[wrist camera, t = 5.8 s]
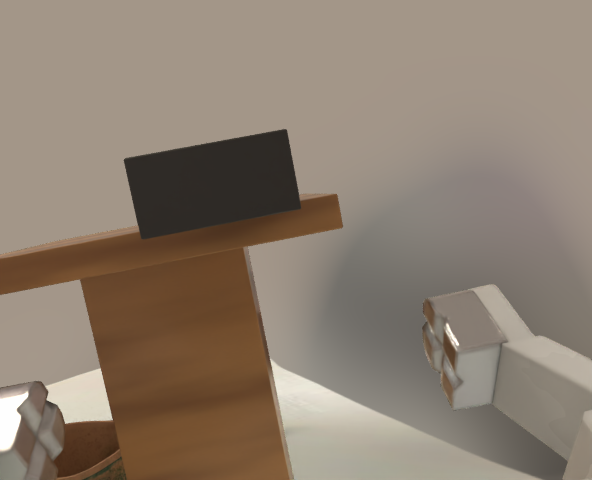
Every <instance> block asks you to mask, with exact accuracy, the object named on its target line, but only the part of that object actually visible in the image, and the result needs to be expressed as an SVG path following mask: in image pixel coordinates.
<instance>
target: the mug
mask: <svg viewBox="0 0 592 480" xmlns="http://www.w3.org/2000/svg"><path fill="white" fill-rule="evenodd" d="M53 462H54V464H55V465H56V467H57V468H58V474H57V479H56V480H127V478H126V474H125V469H124V465H123V461H122V456H121V452H120V448H119V444H118V439H117V435H116V431H115V427H114V422H113V420H110V421H84V422H75V423H68V424H65V441H64V447H63V450H62V451H61V453H60V454H59V455H58V456H57V457H56V459H55V460H54V461H53Z"/></svg>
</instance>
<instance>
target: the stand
mask: <svg viewBox="0 0 592 480" xmlns="http://www.w3.org/2000/svg"><path fill="white" fill-rule="evenodd" d="M299 197H300V203H301V209H300V210H295V211H289V212H284V213H279V214H274V215H269V216H263V217H258V218H253V219H248V220H243V221H237V222H232V223H227V224H222V225H217V226H211V227H206V228H201V229H196V230H191V231H185V232H180V233H175V234H170V235H165V236H159V237H154V238H149V239H144V240H143V239H141V236H140V232H139V227H138V226H132V227H127V228H123V229H117V230H111V231H107V232H101V233H96V234H91V235H86V236H80V237H75V238H70V239H64V240H59V241H55V242H51V243H46V244H42V245H39V246H34V247H30V248H26V249H21V250H17V251H13V252H9V253H5V254H1V255H0V295H2V294H8V293H13V292H18V291H23V290H28V289H33V288H38V287H43V286H48V285H54V284H59V283H64V282H69V281H74V280H79V279H80V281H81V285H82V290H83V293H84V298H85V302H86V307H87V311H88V315H89V320H90V324H91V328H92V332H93V337H94V341H95V345H96V350H97V354H98V358H99V362H100V367H101V371H102V375H103V379H104V384H105V388H106V392H107V397H108V401H109V405H110V409H111V414H112V418H113V422H114V427H115V431H116V435H117V439H118V444H119V448H120V452H121V456H122V461H123V465H124V469H125V474H126V478H127V480H294V477H293V472H292V467H291V462H290V457H289V452H288V447H287V442H286V437H285V432H284V427H283V422H282V417H281V412H280V407H279V402H278V397H277V392H276V387H275V382H274V377H273V371H272V366H271V361H270V356H269V352H268V346H267V341H266V336H265V331H264V326H263V322H262V316H261V312H260V307H259V301H258V297H257V291H256V286H255V281H254V276H253V271H252V266H251V261H250V256H249V251H248V246H253V245H258V244H263V243H268V242H274V241H279V240H284V239H289V238H294V237H299V236H304V235H309V234H314V233H320V232H325V231H329V230H334V229H340V228H342V227H343V224H342V218H341V213H340V207H339V202H338V196H337V194H301V195H299Z"/></svg>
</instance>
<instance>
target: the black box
mask: <svg viewBox="0 0 592 480" xmlns="http://www.w3.org/2000/svg"><path fill="white" fill-rule="evenodd" d="M124 163H125V168H126V172H127V177H128V182H129V186H130V191H131V195H132V200H133V204H134V209H135V213H136V218H137V223H138V227H139V232H140V236H141V239H143V240H144V239H149V238H154V237H159V236H165V235H170V234H175V233H180V232H185V231H191V230H196V229H201V228H206V227H211V226H217V225H222V224H227V223H232V222H237V221H243V220H248V219H253V218H258V217H263V216H269V215H274V214H279V213H284V212H289V211H295V210H300V209H301V203H300V197H299V192H298V187H297V181H296V176H295V171H294V165H293V160H292V155H291V149H290V144H289V139H288V133H287V130H286V129H283V130H278V131H272V132H267V133H262V134H256V135H250V136H245V137H239V138H234V139H229V140H223V141H217V142H212V143H206V144H201V145H195V146H190V147H184V148H179V149H173V150H168V151H163V152H158V153H151V154H146V155H141V156H135V157H129V158H125V159H124Z"/></svg>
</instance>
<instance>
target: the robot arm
mask: <svg viewBox="0 0 592 480" xmlns="http://www.w3.org/2000/svg"><path fill="white" fill-rule="evenodd" d="M423 314H424V315H425V318H426V320H427V322H426V323H425V324H424V326H423V327H422V336H423V343H424V348H425V352H426V355H427V358H428V360H429V362H430V365H431V367H432V369H434V370H435V371H437V372H438V373H440V374H441V387H442V389H443V391H444V393H445V395H446V397H447V399H448V401H449V403H450V405H451V407H452V409H453V411H455V410H460V409H466V408H471V407H476V406H480V405H485V404H491V403H493V406H494V407H496V408H497V409H499V410H500V411H501V412H502V413H504V414H505V415H507V416H508V417H509V418H511V419H512V420H513V421H515V422H516V423H517V424H519V425H520V426H521V427H523V428H524V429H525V430H527V431H528V432H529V433H531V434H532V435H534V436H535V437H536V438H538V439H539V440H540V441H542V442H543V443H544V444H546V445H547V446H548V447H550V448H551V449H553V450H554V451H555V452H556V453H558V454H559V455H560V456H562V457H563V458H564V459H566V460H567V461H568V463H567V467H566V469H565V473H564V476H563V479H562V480H592V359H589V358H587V357H585V356H583V355H581V354H579V353H577V352H575V351H573V350H571V349H569V348H567V347H565V346H563V345H561V344H559V343H557V342H554V341H552V340H550V339H548V338H546V337H544V336H542V335H540V336H534V335H533V334H532V332H531V331H530V330H529V329H528V327H527V326H526V324H525V323H524V322H523V320H522V319H521V318H520V316H519V315H518V314H517V312H516V311H515V310H514V308H513V307H512V306H511V305H510V303H509V302H508V301H507V299H506V298H505V297H504V295H503V294H502V293H501V291H500V290H499V289H498V287H497V286H495V285H493V284H490V285H486V286H481V287H477V288H472V289H469V290H463V291H458V292H454V293H449V294H445V295H440V296H436V297H431V298H427V299H425V300H424V303H423ZM47 395H48V390H47V389H46V387H45V386H44V385H43V383H42V382H40V381H34V382H28V383H23V384H17V385H12V386H7V387H1V388H0V480H56V479H57V474H58V468H57V467H56V465H55V464H54V462H53V461H54V460H55V459H56V457H57V456H58V455H59V454H60V453H61V451H62V450H63V447H64V441H65V422H64V419H63V415H62V412H61V411H60V409H59V408H58V406H57V405H56V404H53V403H51V402H49V401H47V400H46V399H47Z"/></svg>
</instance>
